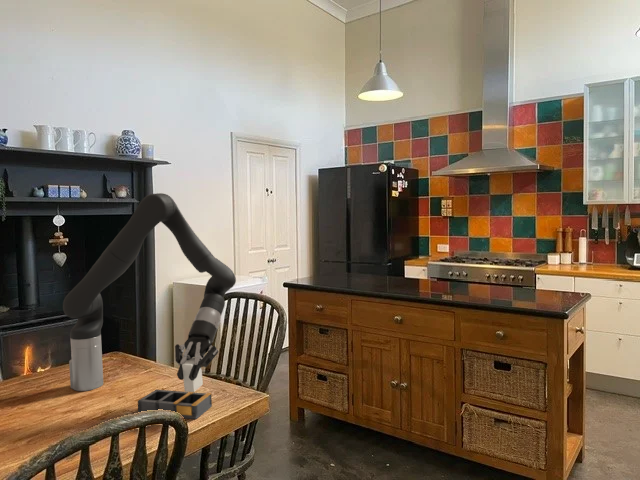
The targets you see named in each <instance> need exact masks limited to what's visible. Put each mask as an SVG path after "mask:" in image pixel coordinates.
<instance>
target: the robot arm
mask: <svg viewBox="0 0 640 480" xmlns="http://www.w3.org/2000/svg"><path fill="white" fill-rule="evenodd" d="M160 223H162V225H164V226H165V227H167V228H168V230H169V231H170V232H171V233H172V235H173V236H174V238H175V239H176V241H177V244H178V245H179V248H180V250H181V252H182V253H183V255H184V257H185V258H186V259H187V260H188V262H189V263H190V264H191V265H192V266H193V267H194V269H195V270H196V271H197V272H198V273H201V274H203V273H207V274H208V275H210V277H209V279H208V280H207V282H206V285H205V288H204V293H203V299H202V301H201V304H200V306H199V308H198V311H197V313H196V314H195V316H194V318H193V319H194V320H193V322H192V324H191V326H190V330H189V333H188V334H187V339H186V340H185V342H184V343H183V344H181V345H180V344H175V346H174V350H175V351H174V352H175V355H174V356H175V359H174V360H175V362H176V363H177V365H179V367H178V370H177V373H176V375H177V378H178V379H179V380H181V381H184V379H183V378H184V377H183V368H182V364H184V363H185V362H186V361H188V360H190V359H191V358H195V362H194V364H195V365H193V367H192V369H191V372H190V375H189V379H190V380H193V381H194V379H196V377H197V375H198V372H199V369H200V368H201V369H202V368H203V367H204V368H207V367H208V366H209V365H210V364H211V362H212V361H213V360H214V359H215V357H216V356H217V355H218V353H219V349H218V348H217V347H216V346H215V345H213V342H214V340H215V336H216V334H217V331H218V328H219V326H220V322H221V317H222V314H223V311H224V308H225V303H226V301H225V298H224V296H225V295H226V293H228V291H229V290H230V289H232V288H233V287H234V286H235V284H236V283H237V282H236V281H237V279H236V275H235V273H234V271H233V270H232V269H231V267H229V266H228V265H226V263H224V262H223V261H221V260H220V259H218V258H216V257H215V255H213V253H212V252H211V251H210V250H209V248H208V247H207V246H206V245H205V244H204V243H203V241H202V240H201V239H200V238H199V236H198V235H197V234H196V233H195V231H194V230H193V228H192V227H191V226H190V225H189V223H188V221H187V220H186V218H185V216H184V215H183V214H182V212H181V210H180V208H179V207H178V205H177V204H176V202H175V200H174V199H173V198H172V197H171V196H170V195H168V194H166V193H162V192H161V193H158V192H157V193H150V194H147V195H145V196H144V197H143V198H142V199H141V200H140V202H139V204H138V205H137V206H136V209H135V210H134V212H133V213H132V215H131V217H130V219H128V221H127V222H126V224H125V225H124V227H123V228H122V229H121V230H120V231H119V232H118V233H117V235H116V236H115V237H114V239H113V240H111V241H110V243H109V244H108V246H107V247H106V248H105V250H103V252H102V253H101V254H100V255H99V257H98V258H97V260H96V261H95V263H94V264H93V265H92V266H91V268H90V269H89V271H88V272H87V273H86V274H85V276H84V277H83V278H82V279H81V280H80V281H79V282H78V283H77V284H76V285H75V286H74V287H73V288H72V289H71V290H70V291H69V292H68V293H67V295H66V296H65V297H64V299H63V302H62V310H63V313H64V315H66V316H67V317H68V318H70V319H77V320H76V322H75V324H74V326H73V327H72V328H71V329H70V332H69V338H70V351H71V352H70V353H71V354H70V355H71V359H70V360H68V363H69V365H68V366H69V381H70V383H69V384H70V389H72V390H74V391H77V392H85V391H86V392H87V391H91V390H95V389H98V388H100V387H102V386H103V385H104V370H103V351H102V328H103V323H104V302H103V297H102V294H101V292H103V291H104V290H105V289H106V288H107V287H108V286H110V285H111V284H112V283H113V282H115V281H116V280H117V279H119V278H120V277H121V276H122V275H124V273H125V272H126V271H127V270H128V269H129V268H130V267H131V265H132V264H133V263H134V261H135V260H136V259H137V257H138V255H139V253H140V251H141V248H142V246H143V244H144V241H145V239H146V238H147V236H148V235H149V234H150V232H152V230H153V229H155V227H156V226H157V225H159V224H160Z"/></svg>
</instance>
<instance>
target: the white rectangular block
mask: <svg viewBox="0 0 640 480" xmlns="http://www.w3.org/2000/svg"><path fill="white" fill-rule="evenodd" d="M194 362H195V357H194V358H191V359H190V360H188V361H186V362H185V363H184V364H182V368H183V377H184V378H183V387H184V389H183V390H184V392H194V393H196V391H197V390H198V389H200V388H201V387H202V386H203V383H204V381H203V371H202V367H201V368H200V369H199V372H198V375H197V377H196V379H194V381H193V380H190V379H189V375H190V372H191V369H192V367H193V365H195V364H194Z"/></svg>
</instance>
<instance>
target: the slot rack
mask: <svg viewBox="0 0 640 480" xmlns="http://www.w3.org/2000/svg"><path fill="white" fill-rule="evenodd" d="M212 399H213V398H212V392H207V393H206V392H186V391H183V390H182V391H181V390H169V389H168V390H167V389H155V390H152V391H151V392H150V393H148V394H146V395H144V396H143V397H142V398H140V399H138V400H137V413H138V412H141V411H147V410H158V409H163V410H171V411H175V412H178V413H180V414H181V415H182V416H183V417H184V418H183V419H189V420H198V419H199V418H200V417H201V416H202V415H203V414H205V412H207V411H208V410H210V409H211V408H212V406H213V405H212V404H213V403H212V402H213V401H212Z"/></svg>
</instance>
